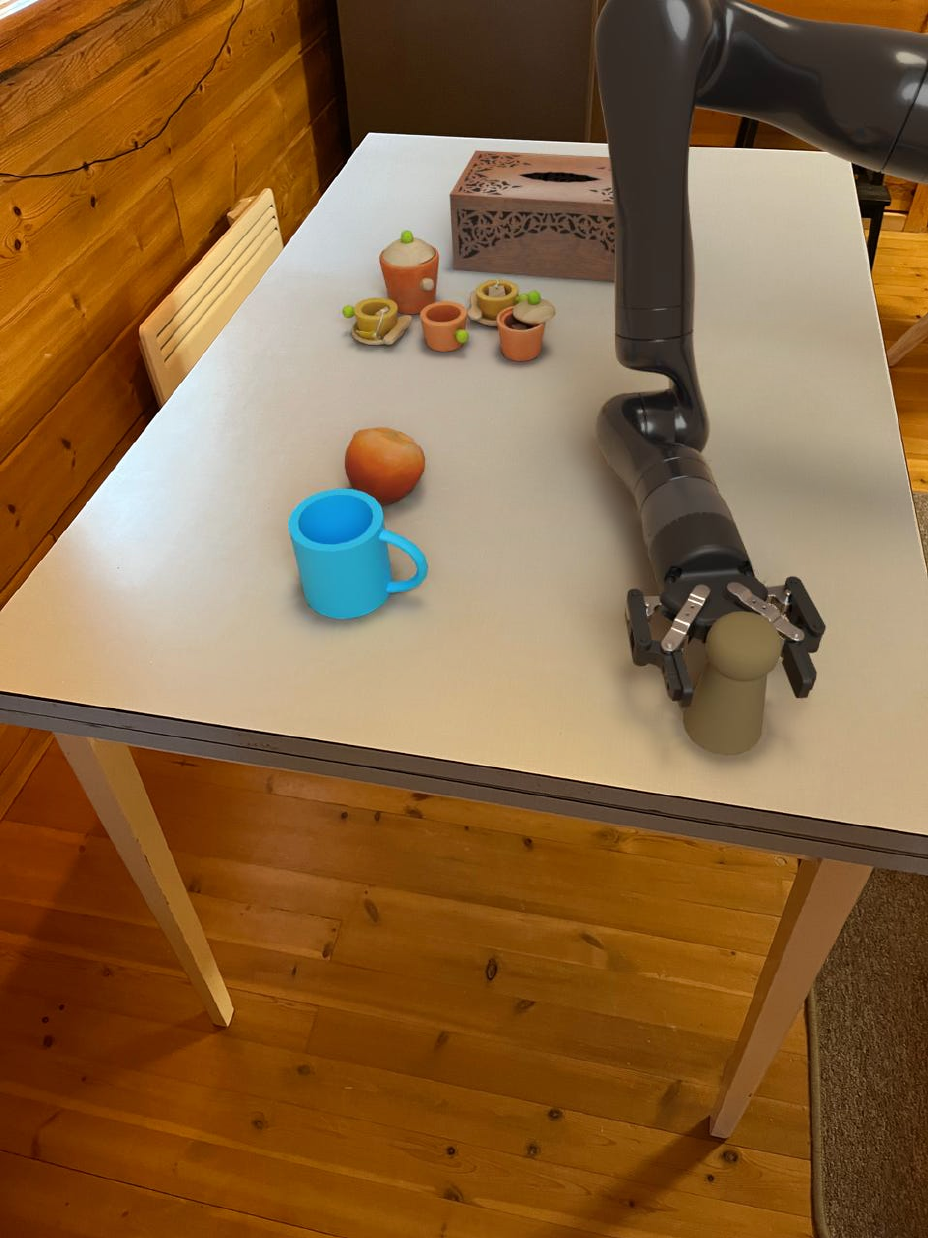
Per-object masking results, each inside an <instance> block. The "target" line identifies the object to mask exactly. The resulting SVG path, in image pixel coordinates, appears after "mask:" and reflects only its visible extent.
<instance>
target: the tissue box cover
mask: <svg viewBox="0 0 928 1238" xmlns="http://www.w3.org/2000/svg"><path fill="white" fill-rule="evenodd" d="M449 207H450V210H449V211H450V226H451V227H450V228H451V245H452V264H453V265H452V266H453V270H458V271H471V272H484V273H497V274H509V275H510V274H511V275H523V276H535V277H536V276H537V277H549V278H563V279H577V280H587V281H601V282H613V283H615V239H614V207H613V191H612V178H611V169H610V159H609V156H592V155H591V156H590V155H573V154H571V155H570V154H555V153H553V154H552V153H550V154H549V153H534V152H533V153H532V152H516V151H515V152H513V151H493V150H492V151H491V150H474V152H473V154H472V155H471V157H470V159H469V161H468V163H467V164H466V166H465V168H464V170H463V171H462V173H461V174H460V176H459V178H458V180H457V182H456V183H455V185H454V186H453V188H452V190H451V192H450V193H449Z"/></svg>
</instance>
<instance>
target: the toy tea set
mask: <svg viewBox="0 0 928 1238" xmlns="http://www.w3.org/2000/svg"><path fill="white" fill-rule="evenodd" d="M378 261H379V266H380V269H381V273H382V277H383V281H384V285H385V289H386V292H387V296H388V298H386V297H370V298H365V299H363V300H360V301H359V302H357V303H356V304H355V305H354V306H353V305H351V304H347V305H345V306H343V308H342V315H343V317H344V318H347V319H351V318H355V322H354V323H353V324H352V326H351V336H352V337H353V339H355V340H356V341H357V342H359V343H361V344H364V345H370V346H380V345H388V346H389V345H392V344H395V342H396V341H397V340H398V339H400V338H401V337H402V336H403V335H404V333H405V331H406V329H408V328H409V327H410V326H411V325H412V324H413V318H412V316H411V315H418V314H419V319H420V323H421V327H422V331H423V335H424V339H425V343H426V345H427V347H428V348H430V349H431V350H432V351H435V352H440V353H441V352H443V353H445V352H446V353H447V352H452V351H455V350H457V349H459V348H460V347H461V346H462V345H463V344H465V343H466V342H468V341H469V338H470V335H469V332H468V331H467V330H466V328H467V318H468V319H469V320H471V321H475V322H476V323H479V324H482V325H485V326H490V327H497V332H498V336H499V342H500V346H501V352H502V354H503V356H504V357H506V359H509V360H511V361H515V362H525V361H526V362H527V361H531V360H533V359H536V357H538V356H539V355H540V353H541V350H542V344H543V340H544V334H545V329H546V323H547V322H549V321H550V320H552V319H553V318H554V317H555V316H556V314H557V313H556V311H557V310H556V307H555V306H554V304H553V303H552V302H550V301H549V300H546V299H545V298H541V296H542V295H541V293H540V292H539V291H537V290H531V291H529V293H528V294H527V293H522V294H520V295H519V293H520V288H519V286H518V285H517V283H515V282H514V281H510V280H508V279H499V277H497V278H496V279H490V280H487V281H483V282H481V283H480V284H478V286H476V288H475V290H474V291H471V292H470V293H469V303H470V308H469V309H467V308H466V307H465V306H464V305H462V304H461V303H459V302H455V301H448V300H446V301H444V300H443V301H442V300H441V301H436V298H437V297H436V296H437V285H438V273H439V272H438V271H439V261H440V254H439V251H438V249H436V247H435V246H433V245H432V244H429V243H428V242H426V241H425V240H423V239H421V238H419V237H416V236H415V237H414V234H413V232H412V231H411V230H409V229H408V230H407V229H406V230H404V231H403V230H402V232H401V234H400V238H398V239H396V240H394V241H392V242H391V243H390V244H389V245H387V246H386V247H385V248H383V250H382V251H381V252H380V254H379V256H378ZM398 313H400V314H404V315H401V316H398Z"/></svg>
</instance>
